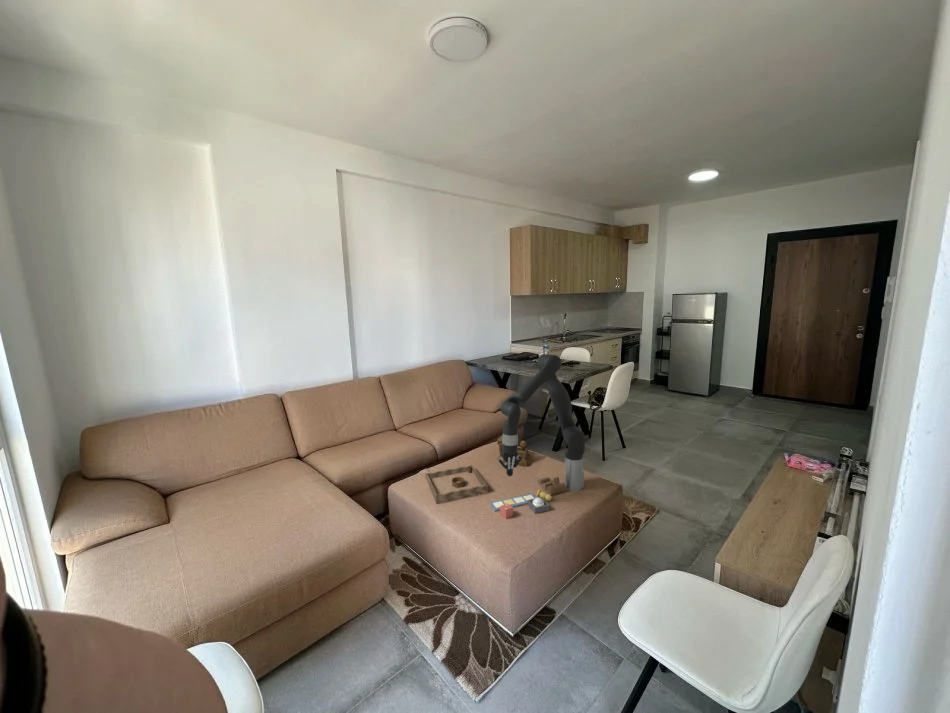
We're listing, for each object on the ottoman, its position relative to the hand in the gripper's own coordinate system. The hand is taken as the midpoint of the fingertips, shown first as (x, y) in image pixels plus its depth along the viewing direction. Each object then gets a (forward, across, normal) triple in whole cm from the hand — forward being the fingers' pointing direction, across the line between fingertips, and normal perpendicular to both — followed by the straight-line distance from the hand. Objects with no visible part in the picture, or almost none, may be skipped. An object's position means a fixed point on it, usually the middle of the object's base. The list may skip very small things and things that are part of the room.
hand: (509, 475), depth 188 cm
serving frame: (+16, +20, -26) cm, 36 cm away
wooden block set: (+11, -22, -2) cm, 25 cm away
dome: (+14, -12, +9) cm, 20 cm away
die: (+15, +5, +9) cm, 18 cm away
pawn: (+12, -16, 0) cm, 21 cm away
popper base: (+15, -12, +9) cm, 21 cm away
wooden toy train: (+15, -22, -40) cm, 48 cm away
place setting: (+16, +15, -28) cm, 35 cm away
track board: (+15, -3, 0) cm, 15 cm away
